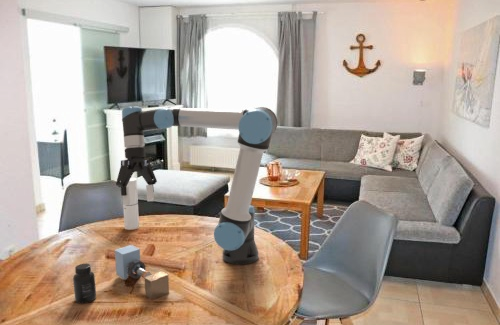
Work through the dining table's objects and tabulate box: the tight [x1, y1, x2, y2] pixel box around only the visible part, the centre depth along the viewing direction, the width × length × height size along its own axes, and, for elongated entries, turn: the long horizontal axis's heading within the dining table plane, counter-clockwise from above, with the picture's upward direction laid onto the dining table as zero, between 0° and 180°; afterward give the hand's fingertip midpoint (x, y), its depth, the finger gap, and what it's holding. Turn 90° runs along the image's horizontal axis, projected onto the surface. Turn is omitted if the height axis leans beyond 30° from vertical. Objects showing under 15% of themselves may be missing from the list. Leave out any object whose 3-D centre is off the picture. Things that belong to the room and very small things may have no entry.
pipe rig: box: [127, 263, 170, 301], centre depth 153 cm, size 25×7×7 cm, turn 45°
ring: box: [127, 260, 146, 279], centre depth 155 cm, size 2×6×6 cm, turn 135°
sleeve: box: [114, 244, 141, 281], centre depth 159 cm, size 6×7×10 cm
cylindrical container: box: [122, 177, 140, 231], centre depth 211 cm, size 7×7×25 cm
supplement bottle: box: [72, 263, 97, 304], centre depth 143 cm, size 7×7×12 cm
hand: (139, 202), depth 160 cm, fingers open, 13 cm apart
